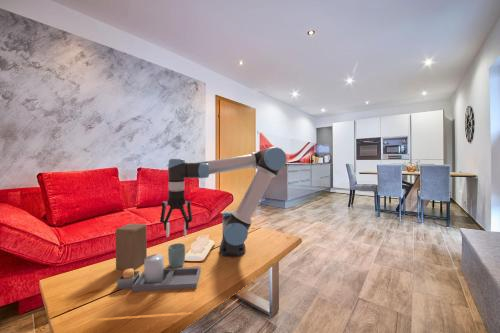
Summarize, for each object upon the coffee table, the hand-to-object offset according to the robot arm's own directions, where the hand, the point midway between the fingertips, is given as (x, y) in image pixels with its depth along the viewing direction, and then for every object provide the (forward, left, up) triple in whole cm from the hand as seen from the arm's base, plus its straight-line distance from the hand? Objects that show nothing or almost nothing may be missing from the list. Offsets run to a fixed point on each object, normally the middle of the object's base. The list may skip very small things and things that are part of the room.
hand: (176, 235), depth 104 cm
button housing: (+16, +15, -15) cm, 27 cm away
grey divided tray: (0, +14, -15) cm, 20 cm away
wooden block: (+22, -2, -15) cm, 27 cm away
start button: (+16, +15, -13) cm, 25 cm away
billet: (+6, +14, -15) cm, 21 cm away
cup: (0, 0, -15) cm, 15 cm away
